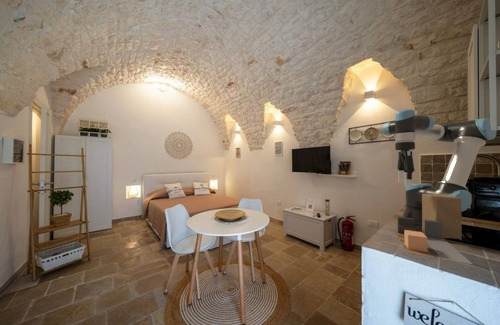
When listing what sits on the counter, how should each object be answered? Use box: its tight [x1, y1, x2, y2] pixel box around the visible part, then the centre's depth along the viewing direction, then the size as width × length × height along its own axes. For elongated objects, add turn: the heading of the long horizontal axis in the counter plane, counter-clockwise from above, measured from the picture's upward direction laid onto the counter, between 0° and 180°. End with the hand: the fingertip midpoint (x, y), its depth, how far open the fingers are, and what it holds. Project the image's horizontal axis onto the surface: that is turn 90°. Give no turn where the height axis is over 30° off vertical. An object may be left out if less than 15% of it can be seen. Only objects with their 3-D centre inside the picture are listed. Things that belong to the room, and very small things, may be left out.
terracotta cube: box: [404, 230, 428, 252], centre depth 78 cm, size 6×6×6 cm
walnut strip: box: [395, 216, 435, 259], centre depth 83 cm, size 24×8×9 cm, turn 151°
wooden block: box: [421, 194, 462, 241], centre depth 91 cm, size 10×10×20 cm
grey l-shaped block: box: [422, 219, 473, 265], centre depth 78 cm, size 24×8×9 cm, turn 151°
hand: (405, 184), depth 92 cm, fingers open, 13 cm apart
